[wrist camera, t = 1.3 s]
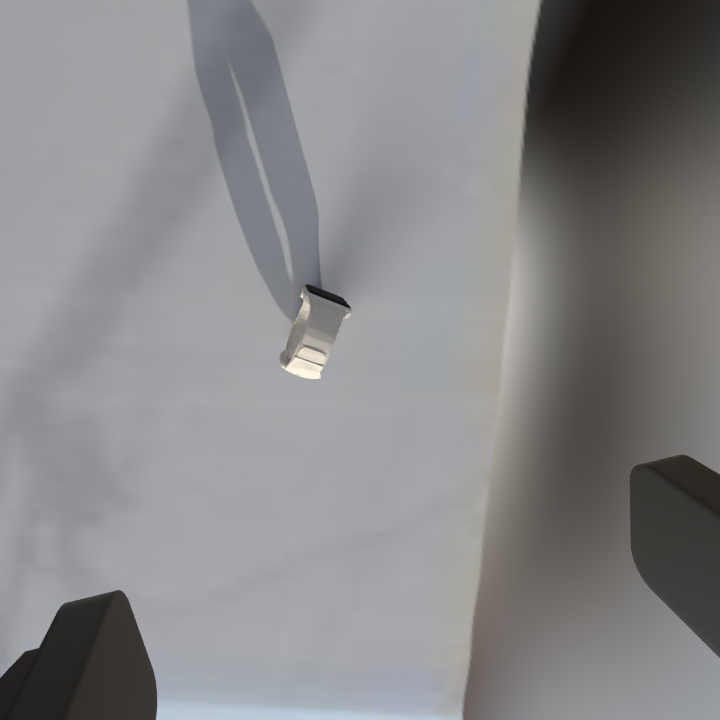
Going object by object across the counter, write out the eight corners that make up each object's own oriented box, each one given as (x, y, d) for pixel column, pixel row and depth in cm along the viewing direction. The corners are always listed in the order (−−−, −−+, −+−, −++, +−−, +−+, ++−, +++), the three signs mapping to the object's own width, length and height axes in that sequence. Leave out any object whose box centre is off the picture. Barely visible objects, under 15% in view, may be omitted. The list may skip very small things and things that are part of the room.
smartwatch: (313, 369, 25) (323, 397, 21) (269, 353, 25) (271, 379, 21) (344, 295, 25) (359, 311, 21) (299, 277, 24) (306, 290, 20)
